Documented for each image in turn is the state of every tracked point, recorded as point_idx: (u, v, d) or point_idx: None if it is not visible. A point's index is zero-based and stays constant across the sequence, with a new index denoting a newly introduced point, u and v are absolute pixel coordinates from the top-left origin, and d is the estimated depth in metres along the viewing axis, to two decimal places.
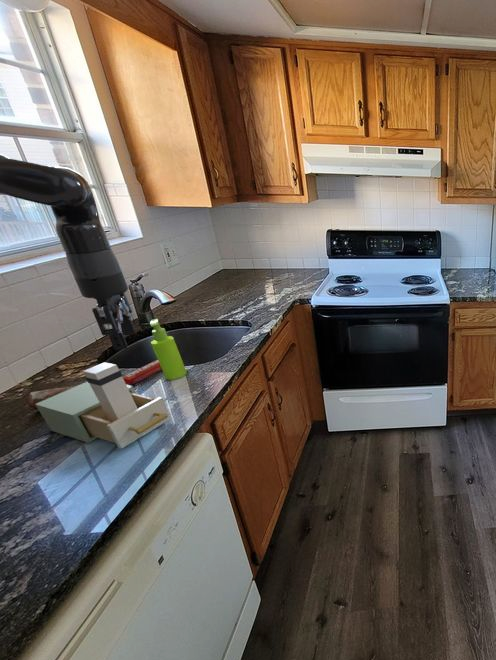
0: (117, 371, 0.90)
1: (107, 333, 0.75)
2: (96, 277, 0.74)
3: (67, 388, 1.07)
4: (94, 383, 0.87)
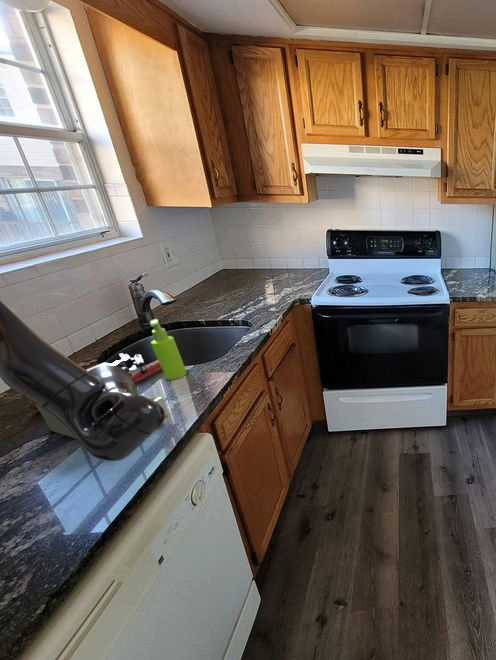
0: None
1: None
2: None
3: None
4: None
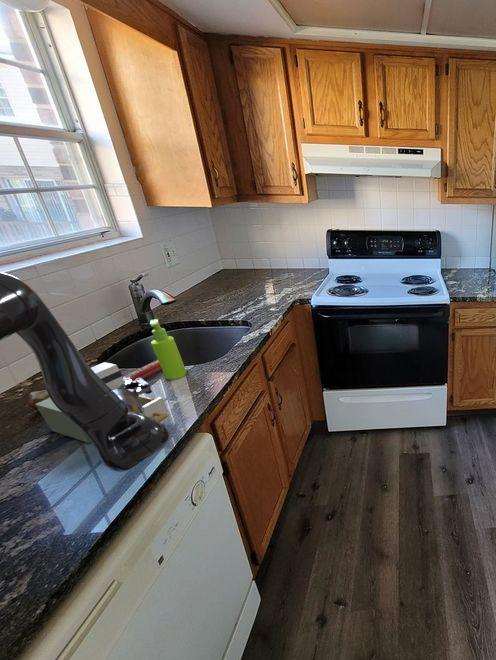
0: (117, 371, 0.90)
1: None
2: None
3: None
4: None
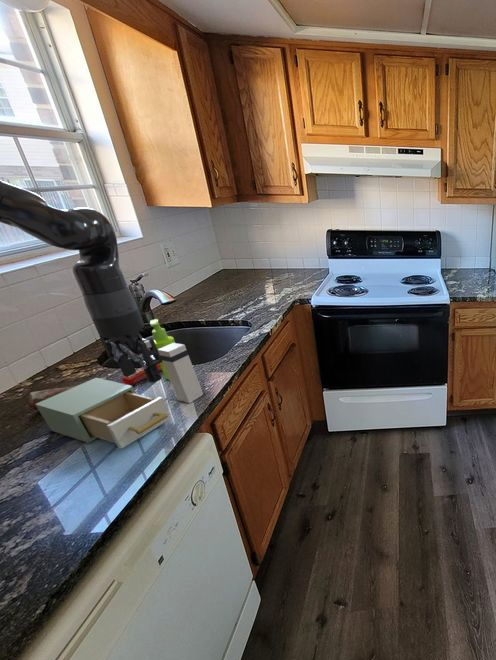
0: (185, 350, 1.04)
1: None
2: None
3: (67, 388, 1.07)
4: (166, 360, 1.01)
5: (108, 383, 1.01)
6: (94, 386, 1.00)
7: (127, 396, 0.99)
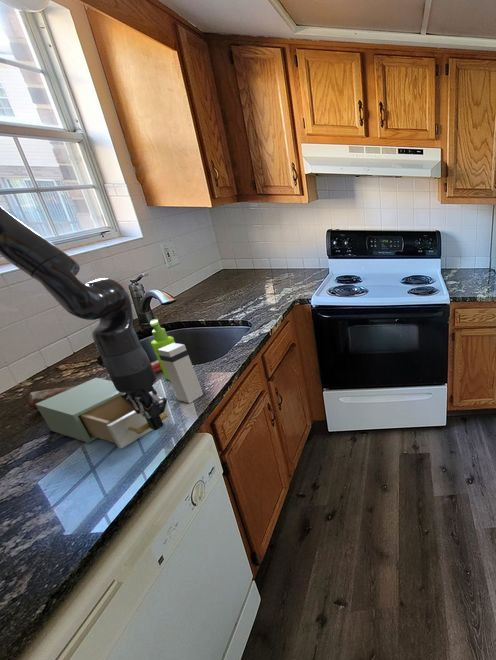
0: (185, 350, 1.04)
1: None
2: None
3: (67, 388, 1.07)
4: (166, 360, 1.01)
5: (108, 383, 1.01)
6: (94, 386, 1.00)
7: None
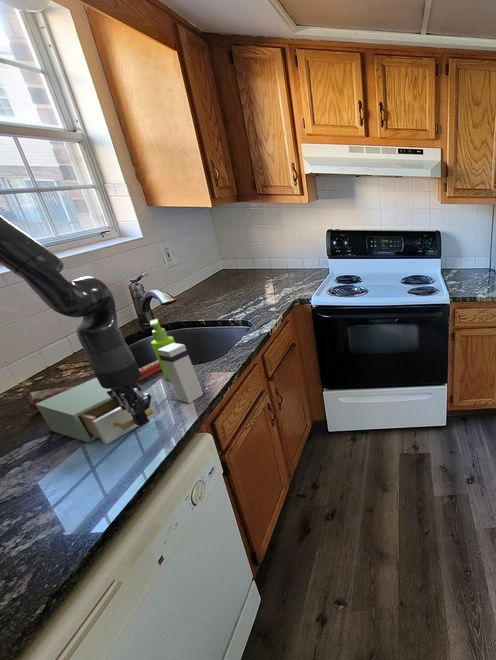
0: (185, 350, 1.04)
1: None
2: None
3: (67, 388, 1.07)
4: (166, 360, 1.01)
5: None
6: (94, 386, 1.00)
7: None
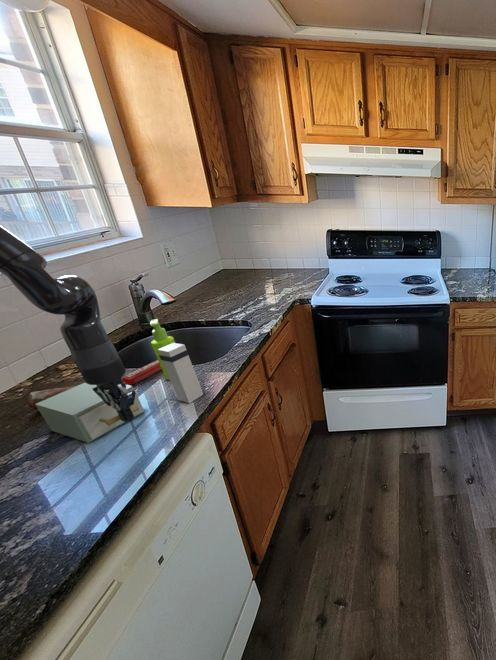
0: (185, 350, 1.04)
1: None
2: None
3: (67, 388, 1.07)
4: (166, 360, 1.01)
5: None
6: (94, 386, 1.00)
7: None
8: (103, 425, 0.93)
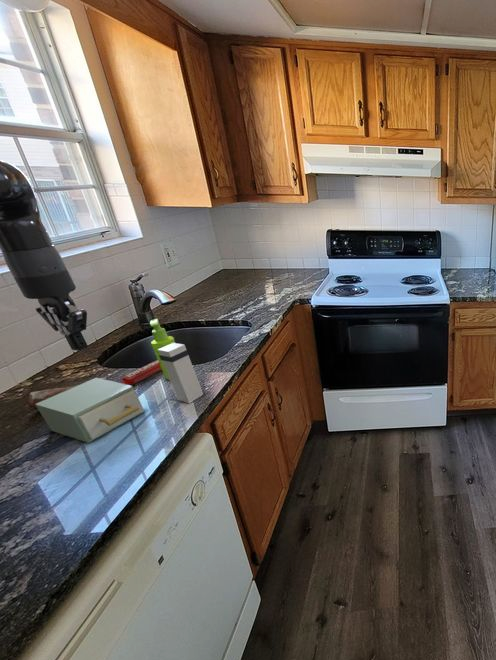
0: (185, 350, 1.04)
1: None
2: None
3: (67, 388, 1.07)
4: (166, 360, 1.01)
5: (108, 383, 1.01)
6: (94, 386, 1.00)
7: None
8: (103, 425, 0.93)
